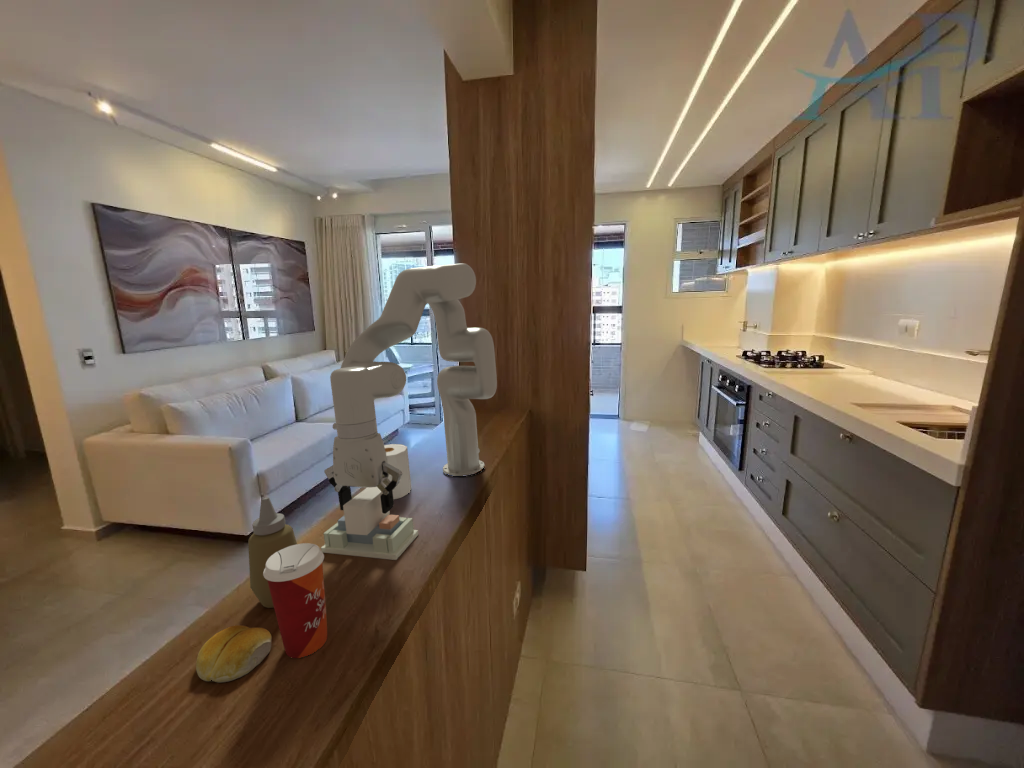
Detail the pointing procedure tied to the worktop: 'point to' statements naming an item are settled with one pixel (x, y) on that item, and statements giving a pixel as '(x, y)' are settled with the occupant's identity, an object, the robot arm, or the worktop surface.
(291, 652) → the paper cup
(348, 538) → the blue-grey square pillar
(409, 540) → the jig
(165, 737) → the worktop surface
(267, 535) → the squeeze bottle
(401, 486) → the toilet paper
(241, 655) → the bread roll
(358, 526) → the block
